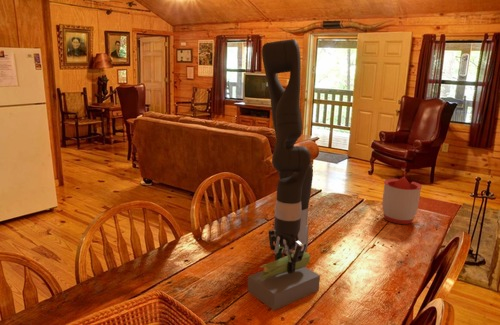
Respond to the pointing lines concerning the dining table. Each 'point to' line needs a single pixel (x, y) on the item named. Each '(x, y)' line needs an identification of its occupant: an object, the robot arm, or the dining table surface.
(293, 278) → the plinth
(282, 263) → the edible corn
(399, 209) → the citrus juicer
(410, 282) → the dining table surface
